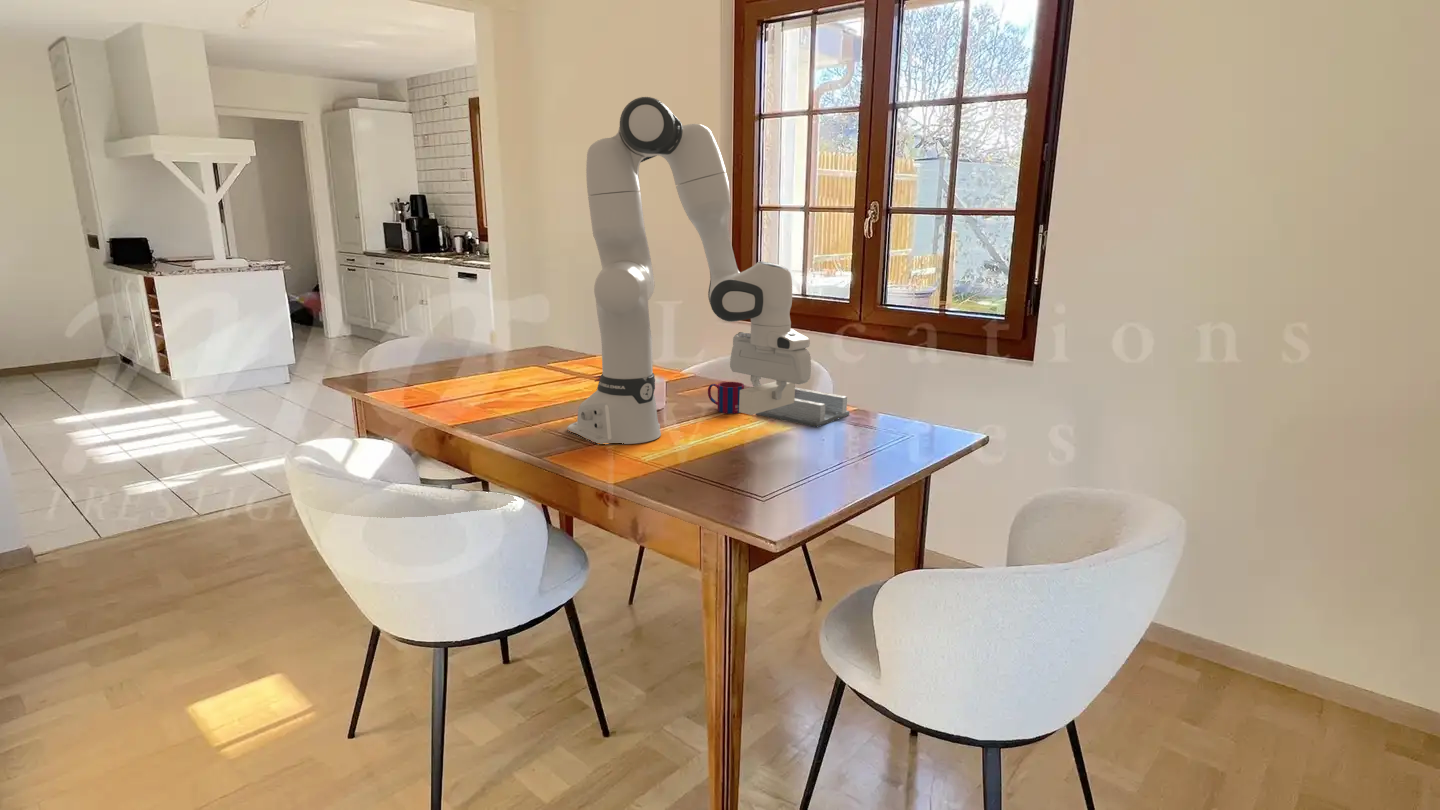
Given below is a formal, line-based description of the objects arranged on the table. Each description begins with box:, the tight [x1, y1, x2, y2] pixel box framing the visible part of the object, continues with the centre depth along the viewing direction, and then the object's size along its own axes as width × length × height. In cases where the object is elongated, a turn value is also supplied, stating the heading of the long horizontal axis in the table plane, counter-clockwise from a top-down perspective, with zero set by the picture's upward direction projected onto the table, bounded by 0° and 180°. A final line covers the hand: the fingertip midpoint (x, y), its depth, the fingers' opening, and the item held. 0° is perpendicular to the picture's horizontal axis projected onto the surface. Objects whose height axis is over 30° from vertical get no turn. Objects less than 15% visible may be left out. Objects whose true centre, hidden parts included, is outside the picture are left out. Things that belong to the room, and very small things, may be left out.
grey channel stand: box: [755, 386, 851, 428], centre depth 195 cm, size 18×15×5 cm
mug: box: [707, 381, 745, 415], centre depth 199 cm, size 7×10×7 cm
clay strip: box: [739, 380, 796, 416], centre depth 176 cm, size 4×16×5 cm, turn 139°
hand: (767, 397), depth 176 cm, fingers closed on clay strip, 3 cm apart
